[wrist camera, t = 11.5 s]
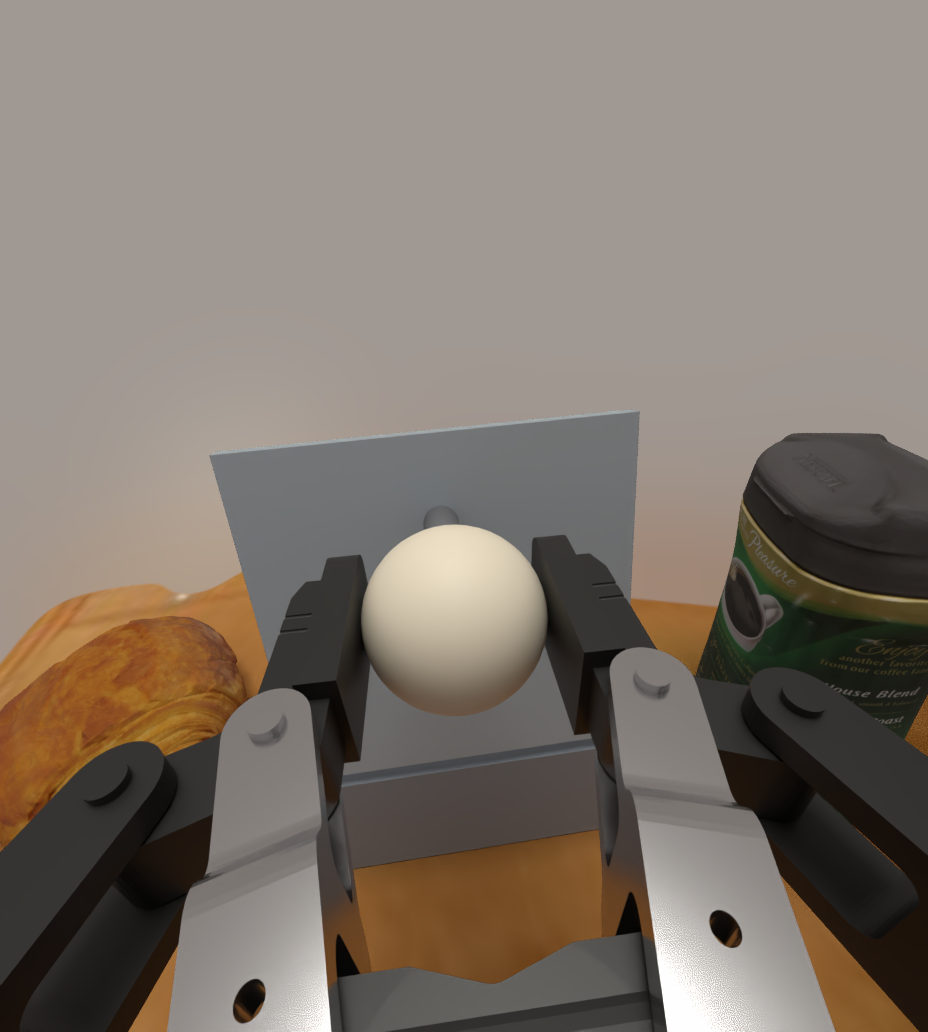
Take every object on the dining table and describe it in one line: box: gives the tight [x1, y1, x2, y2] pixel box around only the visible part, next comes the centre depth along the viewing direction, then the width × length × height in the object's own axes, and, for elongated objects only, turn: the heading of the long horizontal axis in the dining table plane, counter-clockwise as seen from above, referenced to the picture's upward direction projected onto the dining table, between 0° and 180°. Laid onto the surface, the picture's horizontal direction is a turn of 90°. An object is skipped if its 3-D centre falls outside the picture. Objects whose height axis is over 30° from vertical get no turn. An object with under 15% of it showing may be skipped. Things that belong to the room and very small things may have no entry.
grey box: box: [341, 738, 599, 869], centre depth 28 cm, size 14×14×7 cm
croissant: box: [0, 616, 247, 847], centre depth 29 cm, size 14×16×8 cm
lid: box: [210, 410, 640, 775], centre depth 13 cm, size 14×14×9 cm
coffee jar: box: [696, 433, 928, 824], centre depth 22 cm, size 10×8×19 cm
